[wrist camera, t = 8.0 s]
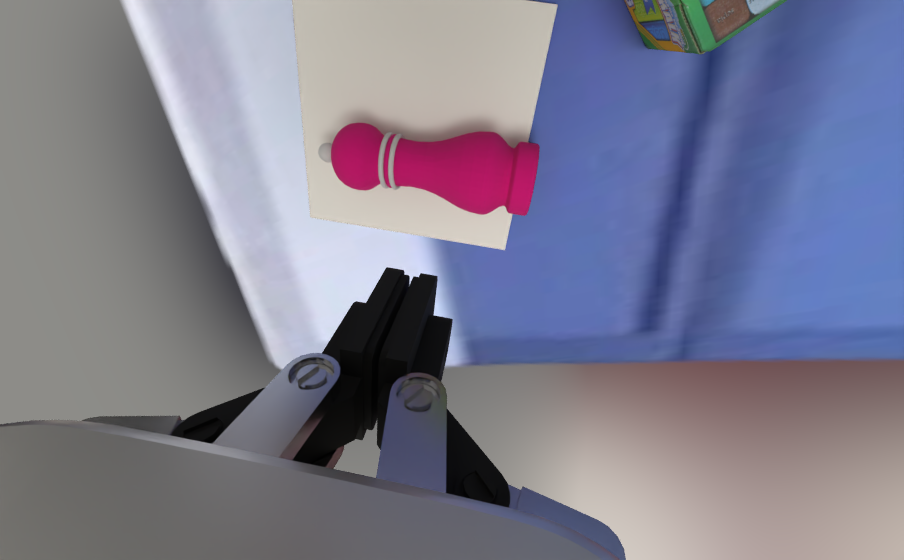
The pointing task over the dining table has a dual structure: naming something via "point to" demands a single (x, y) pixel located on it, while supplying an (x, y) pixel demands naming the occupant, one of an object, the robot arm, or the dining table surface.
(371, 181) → the pepper mill
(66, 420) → the robot arm
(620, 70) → the dining table surface
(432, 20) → the rubber mat
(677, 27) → the chalk box
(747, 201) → the dining table surface
